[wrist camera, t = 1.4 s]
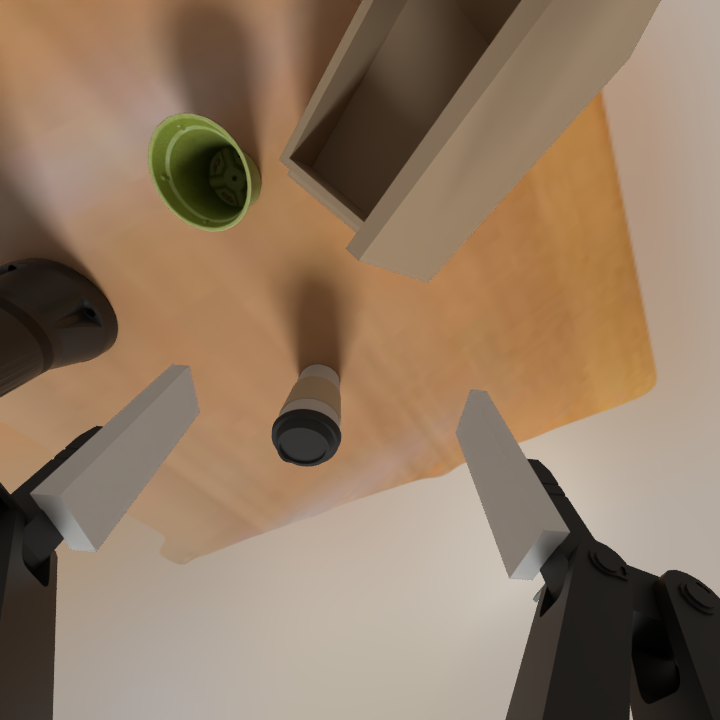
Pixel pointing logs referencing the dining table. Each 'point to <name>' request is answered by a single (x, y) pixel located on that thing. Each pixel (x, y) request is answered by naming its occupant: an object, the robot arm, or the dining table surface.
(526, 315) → the dining table surface
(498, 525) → the robot arm
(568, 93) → the flap
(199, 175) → the plant pot
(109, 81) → the dining table surface
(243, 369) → the dining table surface
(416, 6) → the carton
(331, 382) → the coffee cup
